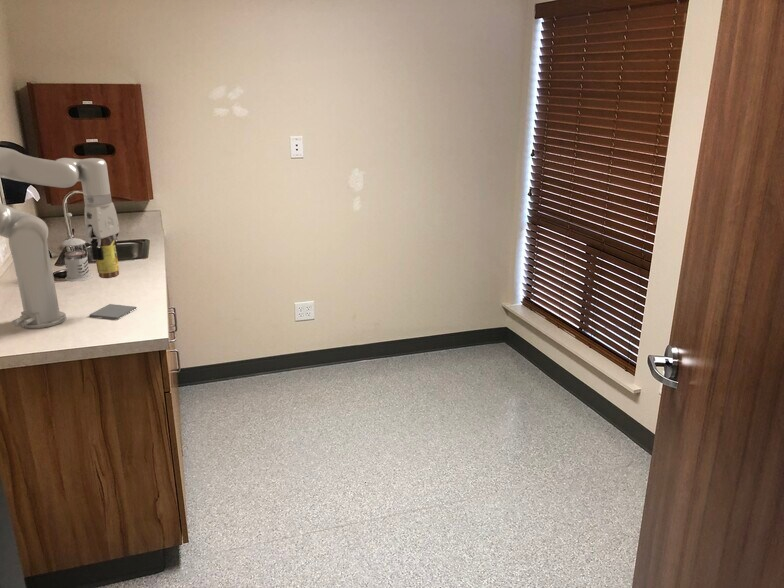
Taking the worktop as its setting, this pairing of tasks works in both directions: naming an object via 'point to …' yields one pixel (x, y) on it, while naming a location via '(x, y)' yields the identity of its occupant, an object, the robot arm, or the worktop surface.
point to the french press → (76, 260)
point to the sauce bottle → (108, 259)
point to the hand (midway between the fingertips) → (105, 256)
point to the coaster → (112, 311)
